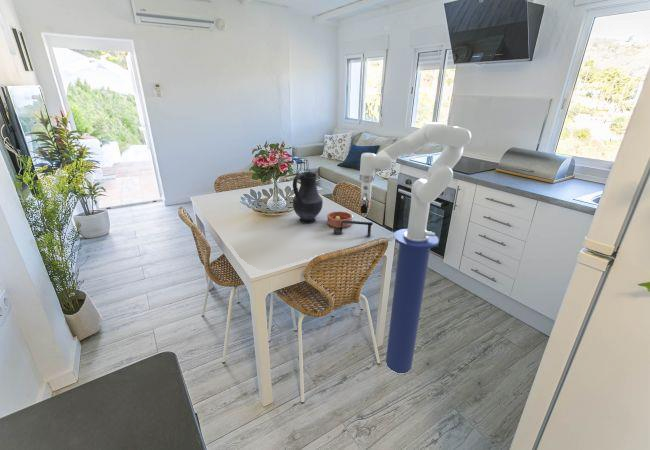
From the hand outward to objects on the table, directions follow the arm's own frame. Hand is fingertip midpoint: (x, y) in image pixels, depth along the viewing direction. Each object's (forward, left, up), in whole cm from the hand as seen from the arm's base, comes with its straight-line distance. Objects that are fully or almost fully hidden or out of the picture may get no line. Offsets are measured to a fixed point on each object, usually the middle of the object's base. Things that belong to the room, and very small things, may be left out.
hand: (364, 210), depth 165 cm
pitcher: (+35, -13, -15) cm, 40 cm away
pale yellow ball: (+16, -17, -12) cm, 26 cm away
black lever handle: (+6, 0, -14) cm, 15 cm away
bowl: (+15, -14, -14) cm, 25 cm away
